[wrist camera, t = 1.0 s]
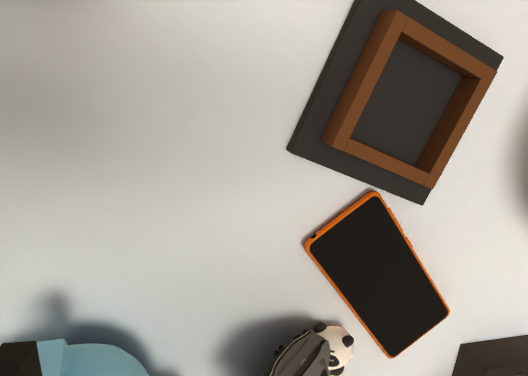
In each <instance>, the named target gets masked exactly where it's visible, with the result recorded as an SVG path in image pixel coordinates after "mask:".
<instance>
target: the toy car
mask: <svg viewBox="0 0 528 376" xmlns="http://www.w3.org/2000/svg"><path fill="white" fill-rule="evenodd" d="M314 330H315V331H316V333H315V331H311V330H303V335H298V336H296V337H294V339H293V340H291V341H289V342H288V343H287V344H286V345H285V346H284V347H283V346H279V351H275V352H274V358H273V359H272V360H271V361H270V363H269V364H268V365H267V367H266V369H265V371H264V374H263V376H343V371H344V365H346V364H347V363H348V362H349V361H350V359H351V358H352V355H353V351H354V345H353V342H354V339H353V337H352V336H350V334H349V333H348V332H347V331H346V330H345V329H344V328H342V327H339V326H327V327H326V325H325V324H324V323H318V324H316V325H315V326H314Z"/></svg>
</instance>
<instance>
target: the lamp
mask: <svg viewBox="0 0 528 376" xmlns="http://www.w3.org/2000/svg"><path fill="white" fill-rule="evenodd" d="M452 376H528V335H525V336H518V337H511V338H504V339H497V340H490V341H483V342H476V343H468V344H461V346H460V350H459V354H458V357H457V361H456V364H455V368H454V372H453V375H452Z"/></svg>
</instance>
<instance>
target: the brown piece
mask: <svg viewBox="0 0 528 376" xmlns="http://www.w3.org/2000/svg"><path fill="white" fill-rule="evenodd" d="M503 58H504V57H503V56H501V55H500V54H498V53H497V52H495V51H494V50H492V49H490V48H489V47H487V46H486V45H484V44H483V43H481V42H479V41H478V40H476V39H475V38H473V37H472V36H470V35H468V34H467V33H465V32H464V31H462V30H461V29H459V28H457V27H456V26H454V25H453V24H451V23H450V22H448V21H446V20H445V19H443V18H442V17H440V16H439V15H437V14H435V13H434V12H432V11H431V10H429V9H428V8H426V7H424V6H423V5H421V4H420V3H418V2H417V1H415V0H355V1H354V3H353V6H352V8H351V10H350V12H349V14H348V16H347V19H346V21H345V23H344V25H343V27H342V29H341V32H340V34H339V36H338V38H337V40H336V42H335V45H334V47H333V49H332V51H331V53H330V55H329V58H328V60H327V62H326V64H325V66H324V68H323V71H322V73H321V75H320V77H319V79H318V81H317V84H316V86H315V88H314V90H313V92H312V94H311V97H310V99H309V101H308V103H307V105H306V107H305V110H304V112H303V114H302V116H301V118H300V120H299V123H298V125H297V127H296V129H295V131H294V133H293V136H292V138H291V140H290V142H289V144H288V146H287V150H288V151H289V152H291V153H293V154H295V155H298V156H300V157H303V158H305V159H308V160H310V161H313V162H315V163H318V164H320V165H323V166H325V167H327V168H330V169H332V170H335V171H337V172H340V173H342V174H345V175H347V176H350V177H352V178H355V179H357V180H360V181H362V182H365V183H367V184H370V185H372V186H375V187H377V188H380V189H382V190H385V191H387V192H390V193H392V194H395V195H397V196H400V197H402V198H405V199H407V200H410V201H412V202H415V203H417V204H420V205H423V204H424V203H425V201H426V199H427V197H428V195H429V193H430V192H431V190H432V189H433V188H434V187H435V185H436V183H437V181H438V179H439V177H440V176H441V174H442V172H443V170H444V168H445V166H446V165H447V163H448V161H449V159H450V157H451V155H452V154H453V152H454V150H455V148H456V146H457V145H458V143H459V141H460V139H461V137H462V135H463V134H464V132H465V130H466V128H467V126H468V124H469V123H470V121H471V119H472V117H473V115H474V113H475V112H476V110H477V108H478V106H479V104H480V103H481V101H482V99H483V97H484V95H485V93H486V92H487V90H488V88H489V86H490V84H491V82H492V81H493V79H494V77H495V75H496V73H497V69H498V67H499V65H500V64H501V62H502V60H503Z"/></svg>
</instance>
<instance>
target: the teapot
mask: <svg viewBox="0 0 528 376" xmlns="http://www.w3.org/2000/svg"><path fill="white" fill-rule="evenodd" d="M36 343H37V348H38V354H39V359H40V365H41V370H42V376H149V374H148V373H147V371H146V370H145V368H144V367H143V366H142V365H141V363H140V362H139V361H138V360H137V359H135V358H134V357H133V356H132V355H130V354H129V353H127V352H125V351H123V350H122V349H121V348H120V347H119V346H117V345H112V344H108V345H106V344H93V343H88V344H74V345H67V343H66V341H65V339H55V340H46V341H38V342H36Z"/></svg>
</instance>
